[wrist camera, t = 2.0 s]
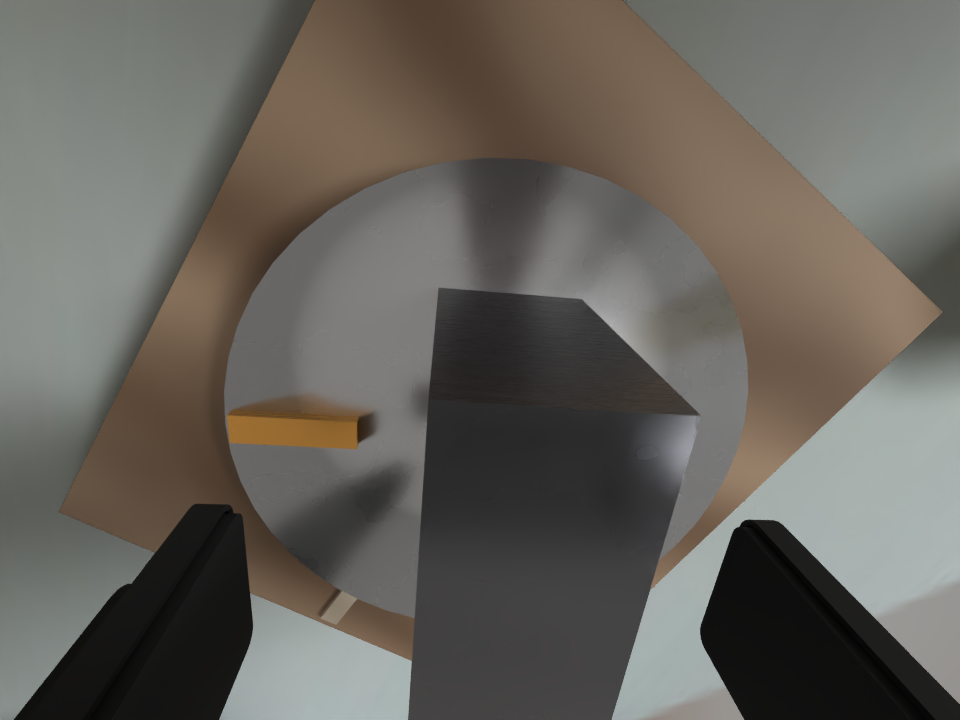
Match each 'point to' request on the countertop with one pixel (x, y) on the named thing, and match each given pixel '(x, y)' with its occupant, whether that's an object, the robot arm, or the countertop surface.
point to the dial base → (493, 134)
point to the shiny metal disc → (490, 421)
